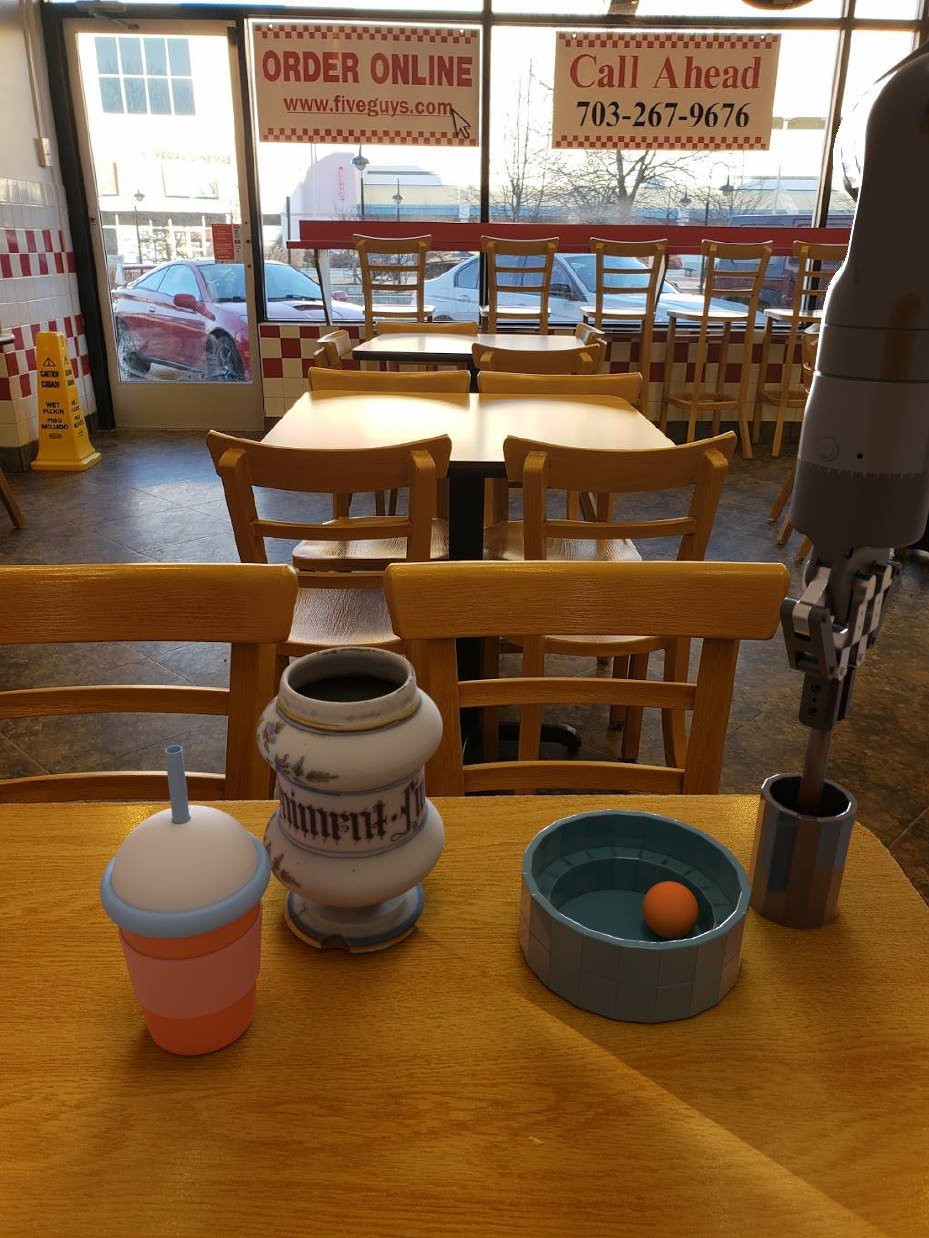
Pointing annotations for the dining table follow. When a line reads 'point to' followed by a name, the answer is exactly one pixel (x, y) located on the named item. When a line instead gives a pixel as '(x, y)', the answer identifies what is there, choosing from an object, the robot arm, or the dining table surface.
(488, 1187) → the dining table surface
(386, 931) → the apothecary jar
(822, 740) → the stirring stick
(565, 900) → the bowl
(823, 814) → the holder
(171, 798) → the cup with straw
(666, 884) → the ball
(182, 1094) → the dining table surface
